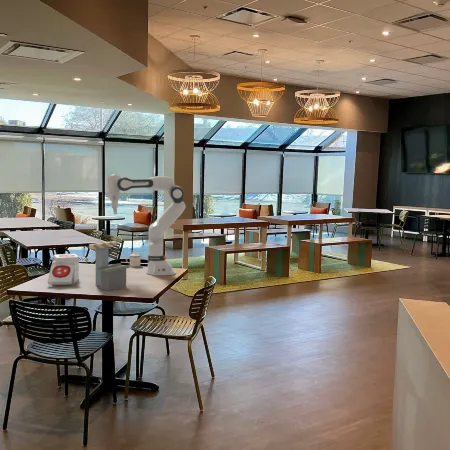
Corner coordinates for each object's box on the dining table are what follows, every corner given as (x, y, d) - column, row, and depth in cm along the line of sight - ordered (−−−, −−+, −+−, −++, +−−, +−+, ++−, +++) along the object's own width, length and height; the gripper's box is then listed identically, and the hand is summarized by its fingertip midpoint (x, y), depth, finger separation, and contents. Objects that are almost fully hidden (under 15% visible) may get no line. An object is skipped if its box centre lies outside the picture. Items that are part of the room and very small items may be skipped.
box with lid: (119, 284, 345) (119, 263, 344) (129, 286, 340) (129, 264, 339) (97, 289, 328) (97, 267, 327) (107, 291, 323) (107, 269, 322)
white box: (44, 287, 332) (44, 260, 331) (55, 278, 362) (55, 253, 360) (74, 287, 334) (73, 260, 332) (82, 278, 364) (82, 253, 362)
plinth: (102, 283, 349) (102, 246, 346) (110, 284, 344) (110, 247, 342) (93, 285, 342) (93, 247, 340) (101, 286, 338) (101, 248, 335)
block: (113, 245, 352) (113, 241, 351) (116, 245, 350) (116, 241, 350) (89, 248, 333) (89, 244, 333) (92, 249, 332) (92, 244, 331)
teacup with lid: (141, 265, 423) (141, 251, 422) (139, 267, 414) (139, 253, 412) (126, 265, 422) (126, 251, 421) (125, 266, 413) (125, 252, 412)
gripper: (117, 195, 368) (119, 214, 369) (118, 195, 388) (120, 213, 389) (109, 196, 367) (110, 214, 368) (110, 196, 387) (111, 214, 388)
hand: (115, 214), depth 379 cm, fingers open, 8 cm apart
